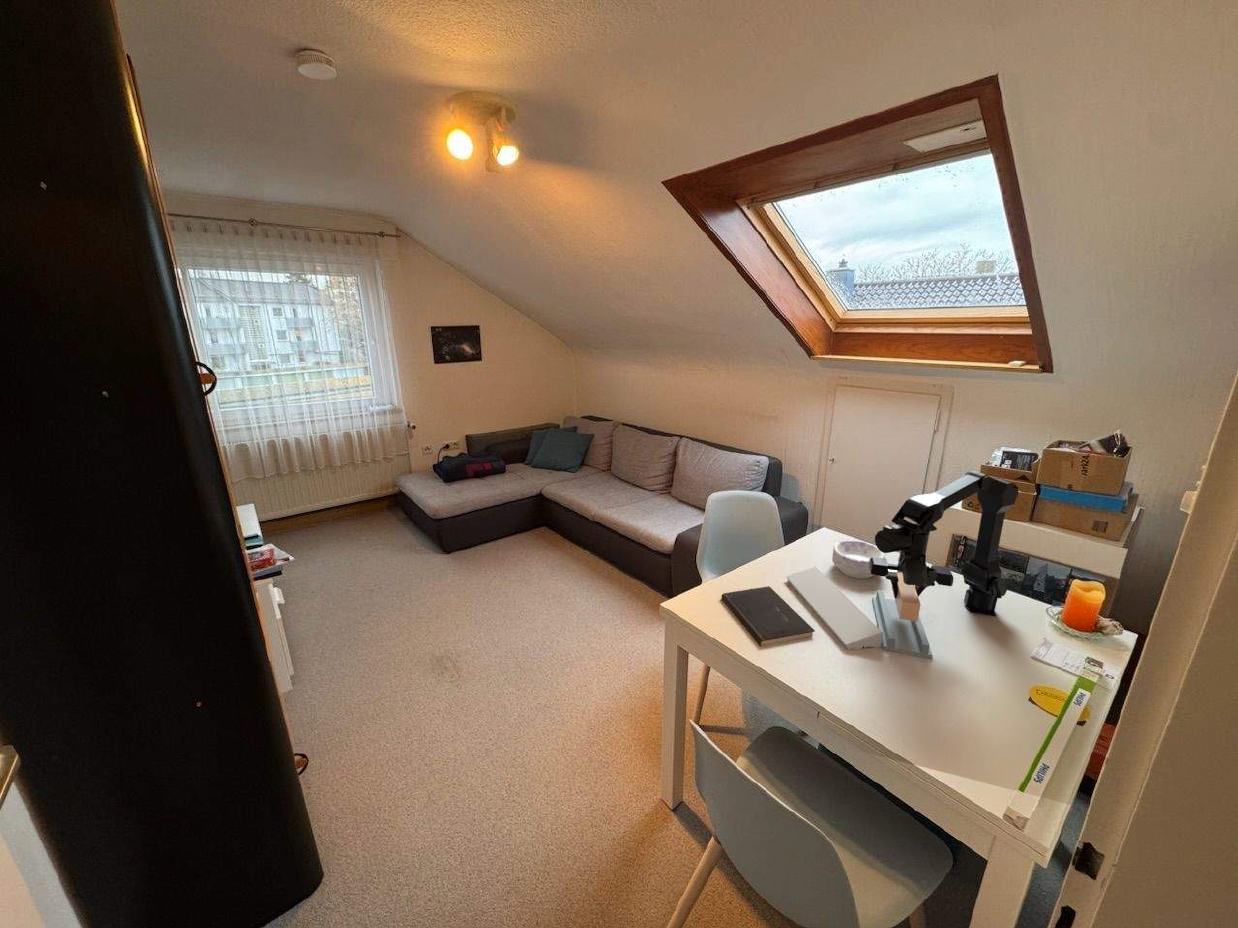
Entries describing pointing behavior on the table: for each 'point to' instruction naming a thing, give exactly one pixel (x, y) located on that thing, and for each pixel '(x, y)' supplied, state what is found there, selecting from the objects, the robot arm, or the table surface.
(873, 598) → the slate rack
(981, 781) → the table surface
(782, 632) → the hardcover book
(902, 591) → the clay strip
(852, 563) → the white purple speckled bowl
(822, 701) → the table surface
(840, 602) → the light grey long wedge
